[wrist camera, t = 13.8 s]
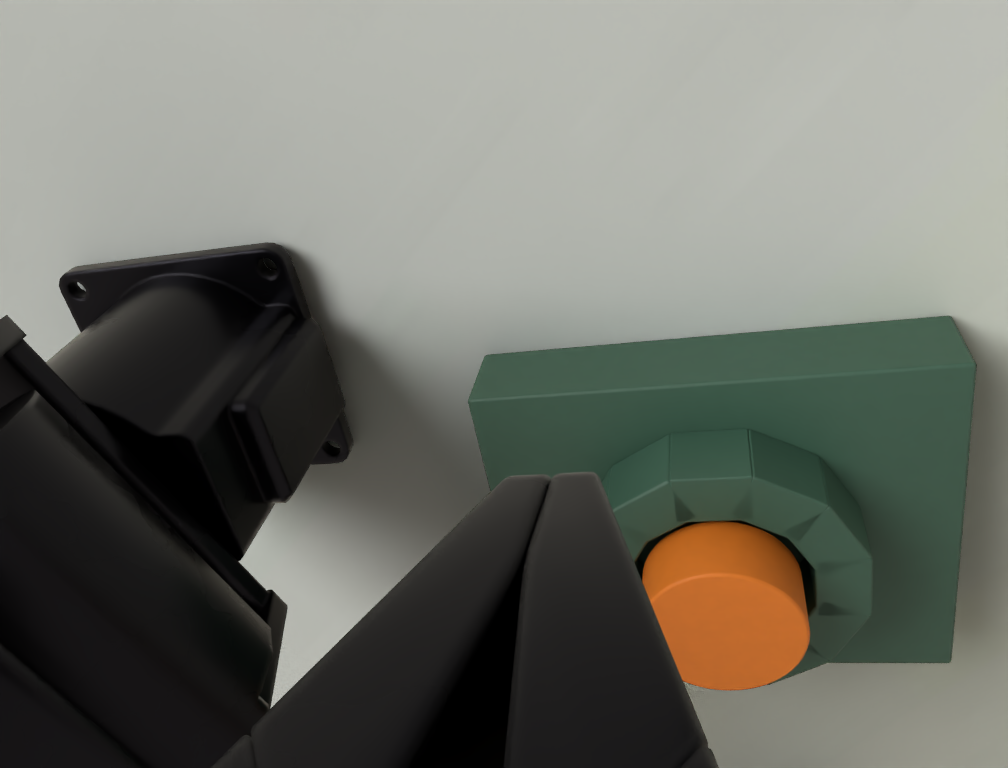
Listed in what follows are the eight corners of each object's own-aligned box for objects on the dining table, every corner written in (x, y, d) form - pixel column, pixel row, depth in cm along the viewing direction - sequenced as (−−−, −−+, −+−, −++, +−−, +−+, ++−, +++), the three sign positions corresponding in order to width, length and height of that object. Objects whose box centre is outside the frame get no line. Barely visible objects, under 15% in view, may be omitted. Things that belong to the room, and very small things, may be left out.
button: (651, 633, 22) (648, 691, 21) (634, 521, 20) (629, 576, 19) (803, 632, 21) (812, 693, 20) (799, 516, 19) (808, 573, 18)
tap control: (543, 606, 27) (523, 715, 24) (484, 353, 23) (449, 445, 20) (932, 601, 25) (970, 724, 21) (951, 314, 20) (1003, 412, 17)
